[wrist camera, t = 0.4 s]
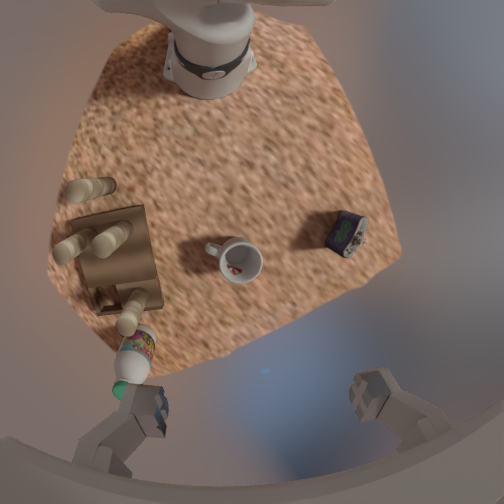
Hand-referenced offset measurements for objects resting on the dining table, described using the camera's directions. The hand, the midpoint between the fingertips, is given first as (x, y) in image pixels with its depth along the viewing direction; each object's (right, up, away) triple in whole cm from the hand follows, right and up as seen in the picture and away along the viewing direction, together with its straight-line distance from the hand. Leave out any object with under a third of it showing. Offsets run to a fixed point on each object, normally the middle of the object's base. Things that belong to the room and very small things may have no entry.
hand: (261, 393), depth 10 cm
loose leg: (-29, +19, +38) cm, 52 cm away
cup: (-5, +6, +46) cm, 47 cm away
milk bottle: (-27, -14, +49) cm, 57 cm away
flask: (+18, +11, +49) cm, 53 cm away
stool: (-29, +4, +43) cm, 52 cm away
